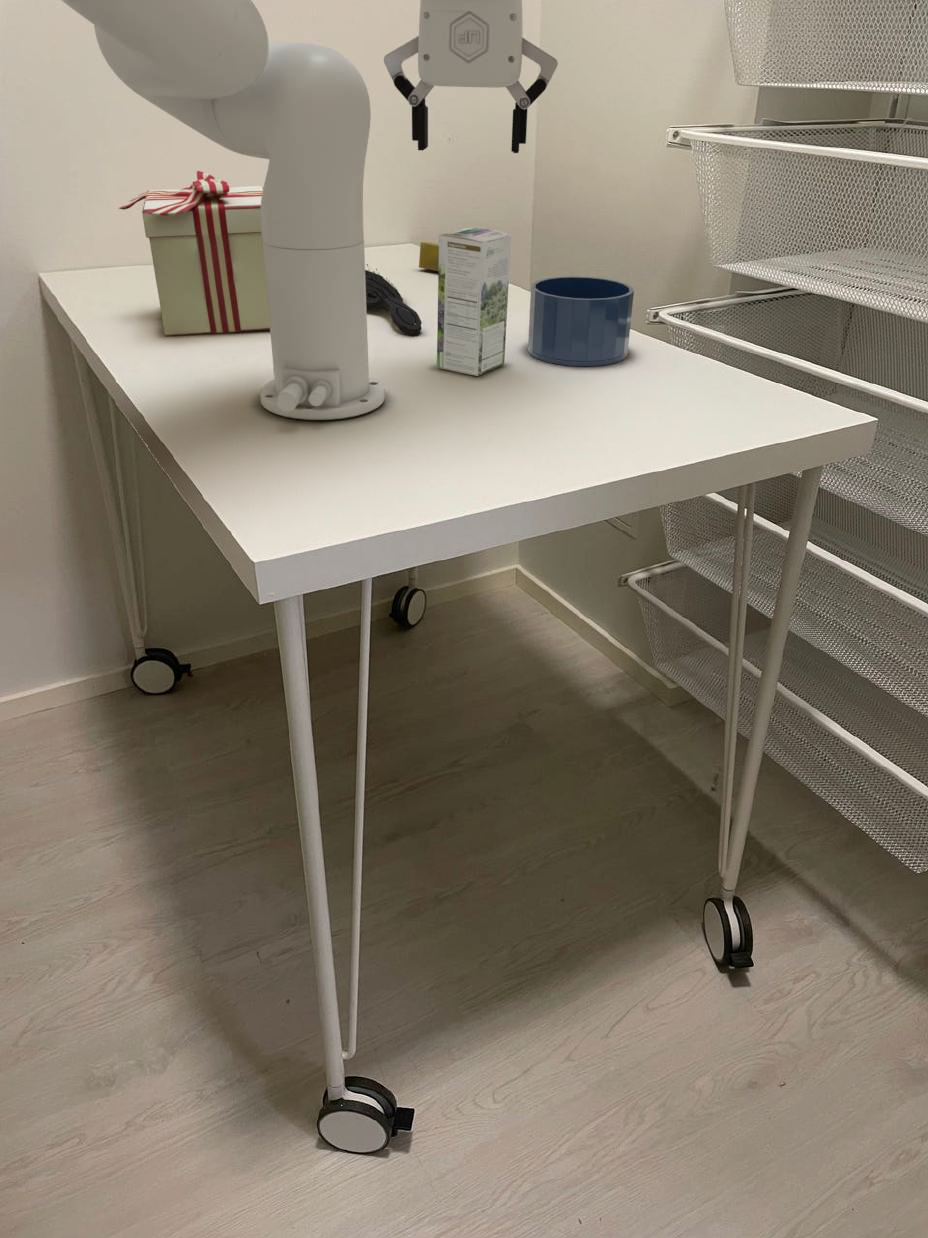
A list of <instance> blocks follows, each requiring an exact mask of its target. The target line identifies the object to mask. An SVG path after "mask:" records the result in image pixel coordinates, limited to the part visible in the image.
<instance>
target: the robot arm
mask: <svg viewBox="0 0 928 1238" xmlns="http://www.w3.org/2000/svg"><path fill="white" fill-rule="evenodd" d="M61 2H63V3H65V5H67V6H68V7H69V8H71V10H73V11H74V12H76V13H77V14H78V15H80V16H81V17H82V18H84V19H86V20H87V21H88V22H90V23H91V24H92V25H93V26H94V27H93V28H94V34H95V38H96V41H97V44H98V47H99V50H100V52H101V54H102V56H103V58H104V60H105V62H106V63H107V65H108V67H109V68H110V69H111V70H112V72H113V73H114V74H115V76H117V78H118V79H119V80H120V81H121V82H122V83H123V84H125V86H126V87H128V88H129V89H130V90H132V92H134V93H135V94H137V95H139V97H141V98H143V99H144V100H146V101H148V102H149V103H150V104H152V105H154V106H155V107H157V108H159V109H160V110H162V111H163V112H165V113H167V114H168V115H170V116H171V117H173V118H174V119H176V120H178V121H179V122H181V123H182V124H184V125H186V126H188V127H189V128H191V129H192V130H194V131H196V132H197V133H199V134H200V135H202V136H204V137H205V138H206V139H209V140H210V141H212V142H213V143H216V144H218V145H220V146H221V147H223V148H224V149H226V150H229V151H231V152H233V153H236V154H239V155H242V156H246V157H251V158H252V157H253V158H257V159H263V160H264V159H265V160H268V166H267V171H266V175H265V179H264V182H263V186H262V187H263V192H262V198H261V209H260V220H261V234H262V242H263V253H264V264H265V276H266V287H267V299H268V310H269V322H270V329H269V332H270V333H269V334H270V343H271V345H270V346H271V354H272V355H271V356H272V366H273V376H274V380H273V379H272V380H271V381H269V382H268V383H266V384H265V385H264V386H263V387H262V388H261V389H260V392H259V397H260V404H261V405H262V407H263V408H264V409H266V410H267V411H268V412H270V413H273V414H275V415H277V416H281V417H285V418H290V419H296V420H304V421H305V420H306V421H310V420H311V421H328V420H340V419H341V420H342V419H347V418H352V417H357V416H360V415H364V414H367V413H369V412H372V411H374V410H376V409H377V408H380V406H381V405H383V403H384V402H385V400H386V399H385V398H386V397H385V394H386V393H385V387H384V386H383V384H382V383H380V382H379V381H378V380H376V379H374V378H372V377H370V370H369V368H370V367H369V343H368V342H369V341H368V315H367V314H368V312H367V311H368V309H367V310H366V282H365V270H366V259H365V257H366V255H365V237H364V177H365V176H364V175H365V165H366V158H367V157H366V156H367V152H368V146H369V145H368V143H369V138H370V131H371V130H370V129H371V101H370V95H369V91H368V88H367V85H366V82H365V80H364V78H363V77H362V75H361V73H360V72H359V70H358V68H357V67H356V66H355V65H354V64H353V62H352V61H350V60H349V58H347V57H345V56H344V55H343V54H342V53H340V52H338V51H337V50H334V49H332V48H329V47H327V46H324V45H321V44H315V43H307V42H285V41H284V42H283V41H279V42H278V41H277V42H269V37H268V30H267V27H266V25H265V21H264V20H263V17H262V16H261V14H260V12H259V10H258V8H257V7H256V5H255V3H254V2H253V0H61ZM418 17H419V19H418V20H419V21H418V35H417V36H416V37H414V38H412V39H410V40H409V41H408V42H405V43H404V44H402V45H400V46H399V47H397V48H395V49H393V50H392V51H390V52H389V53H386V54H385V55H384V57H383V62H384V65H385V67H386V70H387V72H388V74H389V76H390V78H391V80H392V83H393V85H394V87H395V89H397V91H398V92H399V94H401V95H402V96H403V98H404V99H405V100H406V101H407V102H408V104H409V105H410V106H411V140H412V141H413V142H414V141H415V142H417V150H418V151H424V150H426V149H427V148H428V147H429V107H428V106H427V104H426V98H427V97H428V95H429V94H430V93H431V91H432V90H433V88H434V87H450V88H451V87H453V88H456V87H457V88H488V89H489V88H493V89H494V88H495V89H496V88H506V89H507V91H508V93H509V94H510V96H511V97H512V98H513V100H514V102H515V103H514V104H515V106H514V108H513V109H512V124H511V125H512V126H511V149H510V151H511V153H513V154H519V152H520V145H526V144H527V125H528V109H529V107H531V105H532V104H533V103H534V102H535V101H536V100H537V99H538V98H539V97H540V96H541V95H542V94H543V93H544V92H545V90H546V89H547V88H548V85H549V83H550V82H551V80H552V77H553V75H554V73H555V72H556V70H557V67H558V65H559V63H558V60H557V58H556V57H554V56H552V55H551V54H550V53H547V52H546V51H544V49H542V48H540V47H538V46H537V45H535V44H533V43H532V42H531V41H529V40H528V39H526V38H524V37H523V0H420V4H419V16H418ZM415 55H417V64H418V65H417V69H418V77H419V79H420V81H419V82H418V83H417V84H416V86H414V84H413V83H412V81H410V80H409V78H408V77H406V74H405V72H404V70H403V67H402V65H403V63H404V62H405V61H406V60H408V59H410V58H412V57H414V56H415ZM523 56H524V57H526V58H528V59H529V60H531V61H532V62H534V63H535V64H537V65H538V66H539V67H540V72H539V74H538V76H537V78H536V80H535V81H534V82H533V83H532V85H530V86H529V87H528V88H527V89H526V88H524V87H523V85H522V83H521V81H520V77H521V73H522V64H523ZM525 89H526V90H525Z"/></svg>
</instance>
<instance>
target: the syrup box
mask: <svg viewBox="0 0 928 1238" xmlns="http://www.w3.org/2000/svg"><path fill="white" fill-rule="evenodd" d="M438 243H439V270H438V271H437V272H438V278H437V330H436V332H437V333H436V334H437V335H436V336H437V338H436V367H437V368H438V369H442V370H445V371H446V370H447V371H451V372H455V373H461V374H465V375H471V376H475V377H479V376H481V375H483V374H485V373H488V372H491V371H492V370H495V369H497V368H499V367H501V366H503V365H504V364H505V358H506V357H505V356H506V339H507V321H508V305H509V303H508V302H509V283H510V267H511V266H510V264H511V263H510V262H511V244H512V235H510V234H509V233H506V232H503V231H500V230H496V229H492V228H487V227H486V228H485V227H466V228H462V229H458V230H454V231H450V232H446V233H444V234H440V235H439V237H438Z"/></svg>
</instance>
